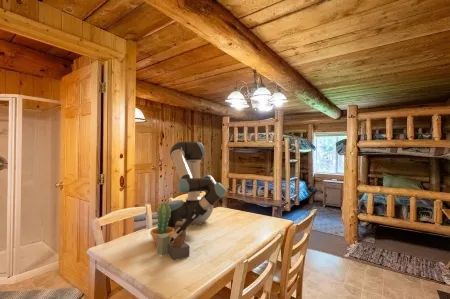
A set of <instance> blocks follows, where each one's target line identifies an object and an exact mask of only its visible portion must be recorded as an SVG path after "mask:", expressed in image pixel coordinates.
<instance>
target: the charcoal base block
mask: <svg viewBox="0 0 450 299" xmlns="http://www.w3.org/2000/svg"><path fill="white" fill-rule="evenodd" d="M168 254H169V255H168ZM168 254H167V255H168V256H169V257H170V258H171V259H172V260H173V261H177V260H181V259H186V258H188V257H190V245H189V244H188V243H187V242H185V241H184V244H183V245H182V247H178V246H173V242H170V244H168ZM185 257H186V258H185Z"/></svg>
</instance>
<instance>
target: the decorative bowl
mask: <svg viewBox="0 0 450 299" xmlns="http://www.w3.org/2000/svg"><path fill="white" fill-rule="evenodd" d="M213 210H214V207H213V208H210V209H209V210H207V212H206V213H205V214H204V215H203V216H202V217H200V218H195V219H194V221H192V222H191V223H190V224H189V225H194V226H195V225H196V226H198V225H199V226H200V225H202V224H204V223H205V222H206V221H207V220H208V219H209V218H210V217H211V215H212V213H213Z"/></svg>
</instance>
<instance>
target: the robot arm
mask: <svg viewBox="0 0 450 299" xmlns="http://www.w3.org/2000/svg"><path fill="white" fill-rule="evenodd" d="M205 153H206V151H205V147H204V144H203V143H202V142H200V141H183V140H182V141H178V142H175V143H174V144H173V145H172V146H171V148H170V151H169V156H170V159H171V160H172V161H173V163H174V166H175V170H176V172H177V175H178V178H179V179H178V181H177V190H178V192H180V193H187V197H186V198H185V201H184V200H182V199H175V200H171V201H169V202H166V203H167V204H168V205H169V207H170V208H171V217H170V219H169V222H168V227H172V228H174V229H175V224H176V223H177V221H181V222H184V223H183V224H182V225H181V226H180V225H179V228H178V229H177V230H176V231H175V232H174V233H173V234H172V235H171V236H172V238H171V240H172V241H173V238H174V239H175V238H176V237H177V236H178V235H179V234H180V233H181V232H182V231H184V230H185V229H187V228H188V227H189V226H190V225H191V224H190V223H191V222H192V221H194V219H195V218H200V217H202V216H203V215H204V214H205V213H206V212H207V210H209V209H210V208H213V209H214V206H215V204H217V202H218V201H220V200H221V199H222V198H223V197H224V196H225V195H226V193H227V189H226V187H225V186H224V185H223V184H222V183H221V182H218V181H216V180H215V178H214V177H213V176H212V175H210V174H205V175H203V176H202V177H201V170H200V169H201V168H200V166H201V164H200V163H201V162H202V160H203V158H204V157H205ZM201 192H206V193H205V194H204V195H202V196H201ZM183 227H184V228H183ZM186 234H187V233H186V230H185V237H186ZM171 240H170V241H171Z"/></svg>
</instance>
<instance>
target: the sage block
mask: <svg viewBox="0 0 450 299" xmlns="http://www.w3.org/2000/svg"><path fill="white" fill-rule="evenodd" d="M170 243H171V240H170V235H167V234H165V233H164V234H161V235H158V236H157V245H156V254H157V253H158V255H159V254H160V256H161V255H162V257H163V255H164V256H166V255H168V244H170ZM165 254H166V255H165Z"/></svg>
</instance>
